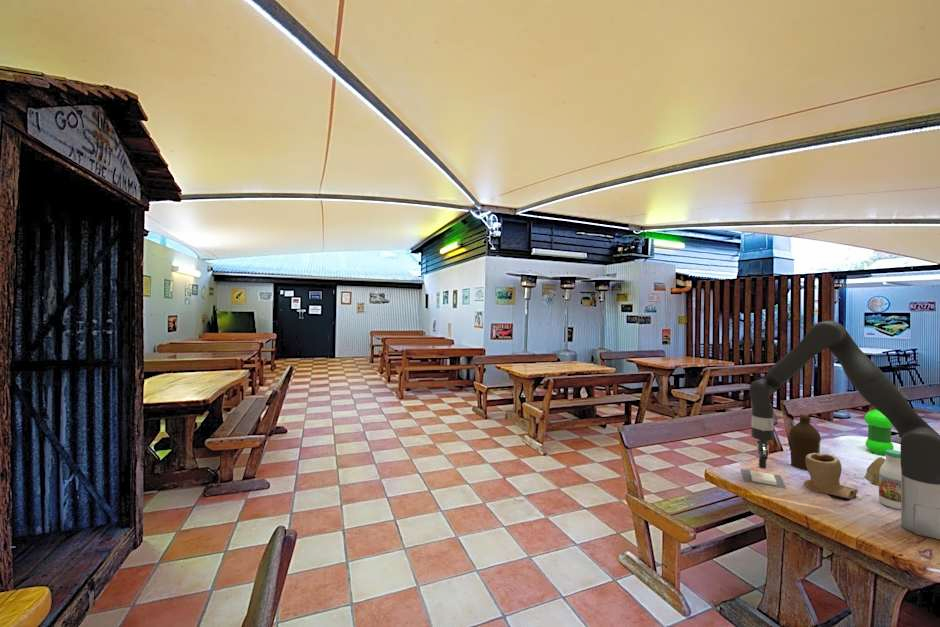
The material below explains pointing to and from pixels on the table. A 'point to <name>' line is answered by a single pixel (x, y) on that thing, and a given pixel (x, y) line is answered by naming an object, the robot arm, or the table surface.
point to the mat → (747, 478)
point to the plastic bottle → (878, 432)
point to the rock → (874, 471)
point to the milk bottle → (890, 480)
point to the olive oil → (803, 441)
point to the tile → (763, 478)
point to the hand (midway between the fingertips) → (762, 467)
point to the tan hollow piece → (826, 475)
